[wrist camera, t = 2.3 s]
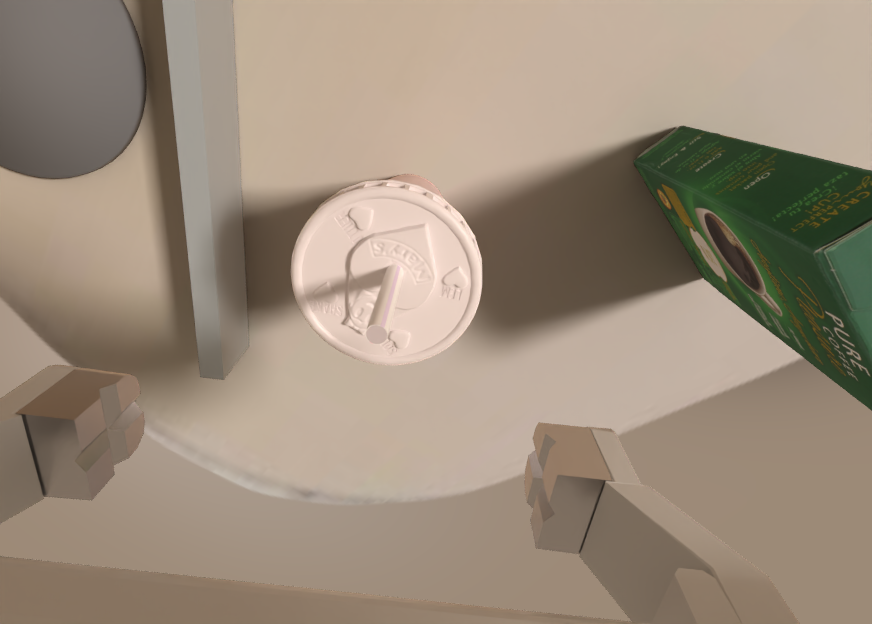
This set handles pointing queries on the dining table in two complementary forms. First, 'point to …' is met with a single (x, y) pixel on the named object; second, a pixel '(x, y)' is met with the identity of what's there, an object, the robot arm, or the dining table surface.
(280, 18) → the dining table surface
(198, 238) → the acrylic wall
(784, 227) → the coffee box
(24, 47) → the pad
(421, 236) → the smoothie
